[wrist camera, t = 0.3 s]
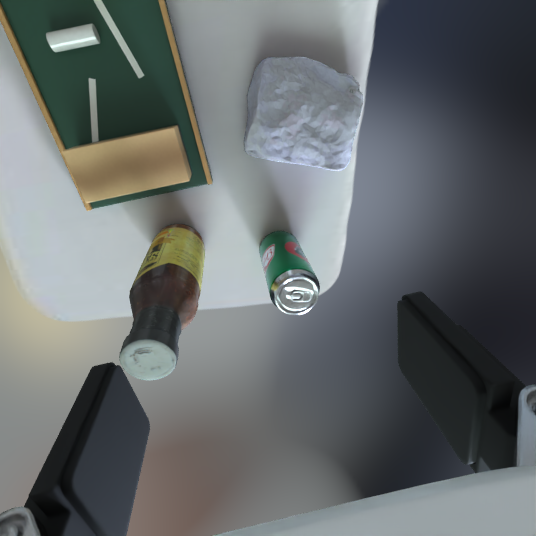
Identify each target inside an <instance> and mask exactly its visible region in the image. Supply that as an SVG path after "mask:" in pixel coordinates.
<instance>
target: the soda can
mask: <svg viewBox="0 0 536 536" xmlns="http://www.w3.org/2000/svg"><path fill="white" fill-rule="evenodd" d="M259 250H260V257H261V261H262V265H263V269H264V273H265V277H266V281H267V285H268V289H269V293H270V297H271V300H272V302H273V303H274V304H275V306H277V307H278V308H279V309H280V310H282V311H283V312H285V313H288V314H293V315H296V314H302V313H305V312H307V311H308V310H310V309H311V308H312V307H313V306H314V305H315V303H316V302H317V299H318V295H319V290H320V286H319V281H318V279H317V277H316V275H315V273H314V271H313V270H312V268H311V266H310V264H309V262H308V260H307V258H306V256H305V255H304V253H303V251H302V249H301V247H300V245H299V243H298V241H297V239H296V238H295V237H294V236H293V235H292V234H290V233H288V232H285V231H276V232H272V233H270V234H269V235H267V236H266V237H265V238H264V239H263V241H262V242H261V245H260V249H259Z"/></svg>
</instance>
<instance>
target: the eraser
mask: <svg viewBox="0 0 536 536" xmlns="http://www.w3.org/2000/svg"><path fill="white" fill-rule="evenodd" d="M62 153H63V155H64V157H65V159H66V162H67V164H68V166H69V168H70V170H71V172H72V175H73V177H74V179H75V181H76V183H77V186H78V188H79V190H80V192H81V194H82V197H83V199H84V201H85V203H90V202H95V201H99V200H104V199H109V198H113V197H118V196H122V195H127V194H132V193H136V192H141V191H146V190H150V189H155V188H160V187H164V186H169V185H174V184H178V183H183V182H187V181H189V180H190V178H191V175H192V173H193V172H192V169H191V166H190V162H189V159H188V155H187V152H186V148H185V145H184V141H183V138H182V134H181V131H180V127H179V124H177V125H172V126H168V127H163V128H158V129H153V130H149V131H144V132H139V133H135V134H130V135H125V136H120V137H116V138H111V139H106V140H101V141H97V142H92V143H87V144H82V145H78V146H75V147H72V148H69V149H66V150H64V151H62Z"/></svg>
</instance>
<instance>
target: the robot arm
mask: <svg viewBox="0 0 536 536" xmlns="http://www.w3.org/2000/svg"><path fill="white" fill-rule="evenodd" d="M397 308H398V309H397V310H398V363H399V367H400V369H401V371H402V373H403V375H404V376H405V378H406V379H407V381H408V382H409V384H410V385H411V387H412V388H413V390H414V391H415V393H416V394H417V395H418V397H419V399H420V400H421V402H422V403H423V405H424V406H425V408H426V409H427V411H428V412H429V414H430V415H431V417H432V418H433V420H434V421H435V423H436V424H437V426H438V427H439V429H440V430H441V432H442V433H443V435H444V436H445V438H446V439H447V441H448V442H449V444H450V445H451V447H452V448H453V450H454V451H455V453H456V454H457V456H458V457H459V459H460V460H461V462H462V463H464V464H465V465H467V464H469V465H470V466H471V468H472V469H473V470H474V472H475V474H471V475H466V476H461V477H457V478H452V479H448V480H443V481H439V482H434V483H429V484H425V485H420V486H416V487H412V488H408V489H403V490H399V491H395V492H391V493H387V494H382V495H378V496H374V497H370V498H366V499H361V500H357V501H353V502H349V503H344V504H340V505H336V506H332V507H328V508H324V509H319V510H316V511H311V512H307V513H303V514H299V515H295V516H291V517H286V518H282V519H278V520H274V521H270V522H266V523H262V524H258V525H254V526H250V527H246V528H241V529H237V530H233V531H229V532H225V533H221V534H217V535H213V536H536V384H533V385H530V386H527V387H526V386H525V385H524V384H523V383H522V382H521V381H520V380H519V379H518V378H517V377H516V376H514V374H512V373H511V372H510V371H509V370H508V369H507V368H506V367H505V366H504V365H503V364H502V363H501V362H500V361H499V360H498V359H496V358H495V357H494V356H493V355H492V354H491V353H490V352H489V351H488V350H487V349H486V348H485V347H484V346H483V345H481V344H480V343H479V342H478V341H477V340H476V339H475V338H474V337H473V336H472V335H471V334H470V333H469V332H468V331H467V330H466V329H464V328H463V327H462V326H460V325H456V324H455V323H454V322H453V321H452V320H451V319H450V318H449V317H448V316H447V315H446V314H445V313H444V312H443V311H442V310H440V309H439V308H438V307H437V306H436V305H435V304H434V303H433V302H432V301H431V300H430V299H429V298H428V297H427V296H426V295H425V294H424V293H422V292H416V293H412V294H407V295H404V296H403V297H402V300H400V301H398V305H397ZM149 430H150V424H149V420H148V418H147V416H146V414H145V412H144V410H143V408H142V406H141V404H140V402H139V400H138V398H137V397H136V395H135V393H134V391H133V389H132V387H131V385H130V383H129V381H128V380H127V377H126V376H125V374H124V372H123V370H122V368H121V367H120V366H119V365H117V366H116V365H115V364H114V363H106V364H102V365H98V366H94V367H92V369H91V370H90V372H89V374H88V377H87V378H86V380H85V382H84V384H83V386H82V388H81V390H80V392H79V394H78V396H77V398H76V401H75V403H74V405H73V407H72V409H71V411H70V413H69V415H68V417H67V419H66V421H65V423H64V425H63V427H62V429H61V431H60V433H59V435H58V437H57V439H56V441H55V443H54V445H53V447H52V449H51V451H50V454H49V455H48V457H47V459H46V461H45V463H44V465H43V467H42V470H41V472H40V473H39V475H38V478H37V480H36V482H35V484H34V486H33V488H32V490H31V492H30V494H29V497H28V499H27V501H26V503H25V506H24V507H16V508H12V509H10V510H7V511H5V512H3V513H1V514H0V536H126V534H127V530H128V525H129V521H130V516H131V512H132V508H133V503H134V499H135V494H136V490H137V485H138V481H139V476H140V472H141V467H142V462H143V458H144V453H145V449H146V444H147V440H148V436H149Z"/></svg>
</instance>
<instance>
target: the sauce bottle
mask: <svg viewBox="0 0 536 536" xmlns="http://www.w3.org/2000/svg"><path fill="white" fill-rule="evenodd" d="M204 258H205V249H204V243H203V240H202V238H201V236H200V234H199V233H198V232H197V231H196V230H194V229H193V228H191V227H190V226H186V225H183V224H173V225H170V226H167V227H165V228H164V229H163V230H161V231H160V233H158V234H157V235H156V237H155V238H154V240H153V242H152V244H151V246H150V248H149V250H148V252H147V255H146V257H145V259H144V261H143V263H142V265H141V267H140V270H139V272H138V274H137V277H136V279H135V281H134V283H133V285H132V288H131V290H130V296H129V298H130V304H131V309H132V313H133V318H134V321H133V327H132V329H131V331H130V334H129V335H128V336H127V337H126V339H125V340H124V342H123V346H122V349H121V352H120V357H119V358H120V363H121V365H122V367H123V369H124V370H125V371H126V372H128V373H129V374H130V375H132V376H134V377H135V378H138V379H142V380H156V379H160V378H163V377H165V376H167V375H169V374H170V373H171V372H172V371H173V370H174V368H175V366H176V363H177V359H178V351H179V350H178V349H179V348H178V339H179V335H180V333H181V330H183V329H184V328H185V327H186V326H188V324H190V322H191V321H192V320H193V318H194V317H195V314H196V311H197V307H198V299H199V296H200V291H201V283H202V275H203V267H204Z"/></svg>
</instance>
